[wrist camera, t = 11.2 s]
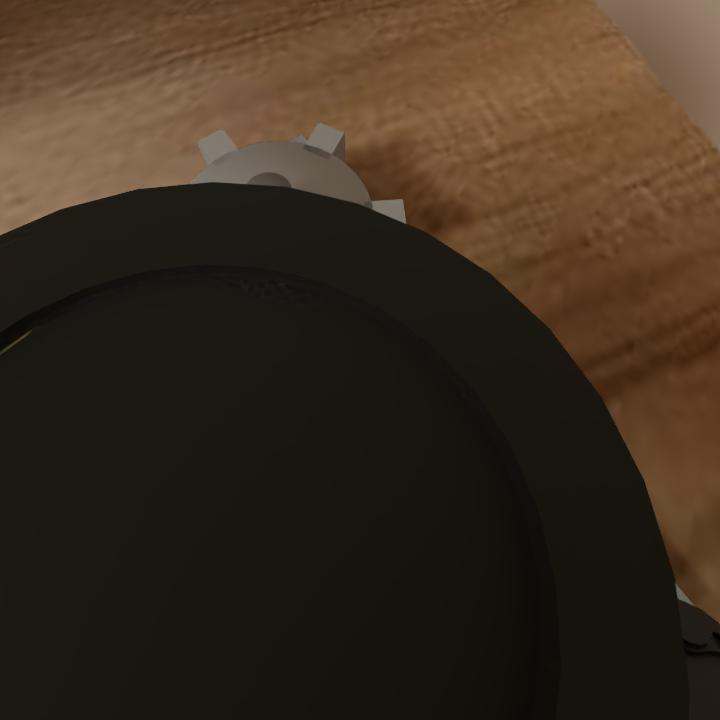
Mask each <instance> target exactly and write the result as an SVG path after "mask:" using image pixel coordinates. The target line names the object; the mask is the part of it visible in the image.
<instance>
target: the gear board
mask: <svg viewBox="0 0 720 720" xmlns="http://www.w3.org/2000/svg"><path fill="white" fill-rule="evenodd" d="M197 143H198V145H199V147H200V150H201V152H202V155H203V157H204V160H205V162H206V165H207V166H206V167H205V168H204V169H203V170H202V171H201V172H200V173H199V174H198V175H197V176H196V177H195V178H194V180H193V181H192V182H191V183H190V184H197V183H207V182H221V183H237V184H253V185H269V186H285V187H290V188H294V189H299V190H303V191H307V192H311V193H316V194H320V195H324V196H329V197H333V198H337V199H341V200H346V201H350V202H354V203H358V204H361V205H363V206H365V207H368V208H370V209H372V210H375V211H377V212H379V213H382V214H384V215H386V216H389V217H391V218H394V219H396V220H398V221H401V222H403V223H405V224H406V218H405V211H404V204H403V199H396V200H381V201H371V199H370V196H369V193H368V191H367V189H366V188H365V186H364V184H363V182H362V181H361V180H360V178H359V177H358V176H357V174H356V173H355V172H354V171H353V170H352V169H351V168H350V167H349V166H348V165H347V164H345V132H343V131H340V130H338V129H335V128H332V127H330V126H327V125H325V124H322V123H318V125H317V126H316V128H315V130H314V131H313V133H312V134H311V136H310V138H309V139H308V141H307V140H306V139H305V137H304V136H303V135H302V134H301V135H299V136H297V137H295V138H293V139H292V140H290V141H268V142H259V143H255V144H250V145H246V146H243V147H240V148H237V146H236V145H235V144H234V143H233V141H232V140H231V139H230V137H229V136H228V135H227V134H226V132H225V131H224V130H223V128H222V129H220V130H218V131H216V132H214V133H212V134H210V135H208V136H206V137H205V138H203V139H201V140H199V141H197ZM675 584H676V583H675ZM676 591H677V597H678V599H679V600H682V601H685V602H687V603H689V604H691V605H693V604H692V602H691V601H690V600H689V599H688V598H687V596H686V595H685V594H684V593H683V592H682V590H681V589H680V588H679V587H678V586H677V584H676ZM693 606H694V605H693Z"/></svg>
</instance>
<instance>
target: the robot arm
mask: <svg viewBox="0 0 720 720" xmlns="http://www.w3.org/2000/svg"><path fill="white" fill-rule="evenodd" d="M677 598H678V597H677ZM678 606H679V613H680V620H681V628H682V635H683V643H684V650H685V657H686V665H687V672H688V680H689V687H690V702H689V720H720V624H719V623H718V622H717V621H716V620H714V619H713V618H712V617H710V616H709V615H708V614H707V613H705V612H704V611H703V610H701V609H699V608H697V607H695V606H693V605H691V604H689V603H687V602H685V601H682V600H679V599H678Z"/></svg>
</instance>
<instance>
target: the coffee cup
mask: <svg viewBox="0 0 720 720" xmlns="http://www.w3.org/2000/svg"><path fill="white" fill-rule="evenodd" d="M689 702H690V687H689V680H688V672H687V665H686V657H685V650H684V643H683V635H682V628H681V620H680V613H679V606H678V598H677V591H676V584H675V577H674V574H673V571H672V568H671V565H670V561H669V558H668V555H667V552H666V549H665V546H664V542H663V539H662V536H661V533H660V530H659V526H658V523H657V520H656V517H655V514H654V510H653V507H652V504H651V501H650V498H649V495H648V491H647V488H646V485H645V482H644V479H643V477H642V476H641V474H640V472H639V470H638V468H637V466H636V464H635V462H634V460H633V458H632V456H631V454H630V452H629V450H628V448H627V446H626V444H625V442H624V441H623V439H622V437H621V435H620V433H619V431H618V429H617V427H616V425H615V423H614V421H613V419H612V417H611V415H610V413H609V411H608V409H607V407H606V405H605V404H604V402H603V400H602V398H601V396H600V395H599V394H598V392H597V391H596V390H595V388H594V387H593V386H592V384H591V383H590V382H589V380H588V379H587V378H586V376H585V375H584V374H583V373H582V371H581V370H580V369H579V367H578V366H577V365H576V363H575V362H574V361H573V359H572V358H571V357H570V355H569V354H568V353H567V351H566V350H565V349H564V347H563V346H562V345H561V343H560V342H559V341H558V339H557V338H556V337H555V335H554V334H553V333H552V332H551V330H550V329H549V328H548V327H547V326H546V325H545V324H544V323H543V322H542V321H541V320H539V319H538V318H537V317H536V316H535V315H534V314H533V313H532V312H531V311H530V310H529V309H528V308H527V307H525V306H524V305H523V304H522V303H521V302H520V301H519V300H518V299H517V298H516V297H515V296H514V295H513V294H511V293H510V292H509V291H508V290H507V289H506V288H505V287H504V286H503V285H502V284H501V283H500V282H499V281H498V280H496V279H495V278H494V277H493V276H492V275H491V274H490V273H488V272H487V271H485V270H484V269H482V268H481V267H479V266H477V265H476V264H474V263H473V262H471V261H470V260H468V259H467V258H465V257H464V256H462V255H460V254H459V253H457V252H456V251H454V250H453V249H451V248H450V247H448V246H447V245H445V244H443V243H442V242H440V241H439V240H437V239H436V238H434V237H433V236H431V235H430V234H428V233H426V232H424V231H422V230H420V229H417V228H415V227H412V226H410V225H408V224H405V223H403V222H401V221H398V220H396V219H394V218H391V217H389V216H386V215H384V214H382V213H379V212H377V211H375V210H372V209H370V208H368V207H365V206H363V205H361V204H358V203H354V202H350V201H346V200H341V199H337V198H333V197H329V196H324V195H320V194H316V193H311V192H307V191H303V190H299V189H294V188H290V187H285V186H269V185H253V184H237V183H221V182H207V183H197V184H187V185H177V186H167V187H157V188H147V189H137V190H133V191H129V192H125V193H122V194H118V195H114V196H110V197H106V198H102V199H99V200H95V201H91V202H87V203H83V204H79V205H76V206H72V207H68V208H64V209H61V210H58V211H56V212H54V213H51V214H49V215H47V216H44V217H42V218H40V219H37V220H35V221H33V222H30V223H28V224H26V225H23V226H21V227H19V228H16V229H14V230H12V231H9V232H7V233H5V234H2V235H0V720H689Z"/></svg>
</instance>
